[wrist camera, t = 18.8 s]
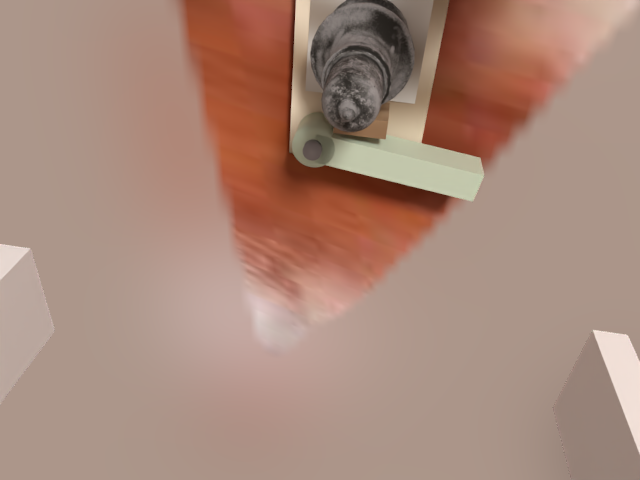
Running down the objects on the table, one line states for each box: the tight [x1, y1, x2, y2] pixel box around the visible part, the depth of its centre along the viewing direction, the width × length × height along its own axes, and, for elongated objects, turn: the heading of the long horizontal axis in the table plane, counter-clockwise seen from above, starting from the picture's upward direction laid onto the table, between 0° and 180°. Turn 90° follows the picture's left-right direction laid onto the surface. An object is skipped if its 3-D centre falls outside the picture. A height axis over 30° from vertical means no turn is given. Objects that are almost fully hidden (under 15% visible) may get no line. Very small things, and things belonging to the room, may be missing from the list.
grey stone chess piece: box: [310, 0, 415, 132], centre depth 29 cm, size 6×6×12 cm
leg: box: [292, 112, 484, 201], centre depth 36 cm, size 12×3×3 cm, turn 79°
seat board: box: [289, 0, 449, 153], centre depth 34 cm, size 12×9×4 cm
